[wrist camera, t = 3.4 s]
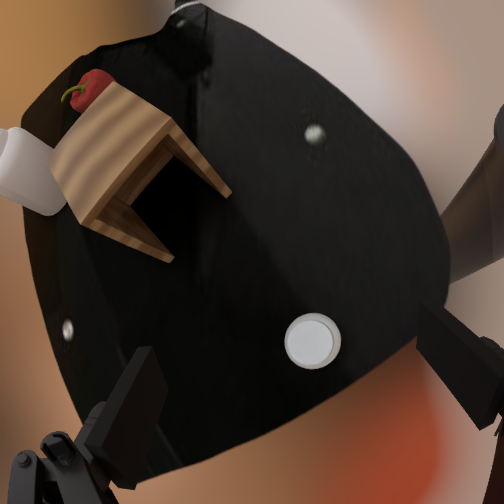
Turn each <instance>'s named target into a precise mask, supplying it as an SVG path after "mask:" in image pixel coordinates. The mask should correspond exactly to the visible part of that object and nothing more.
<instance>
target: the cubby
mask: <svg viewBox="0 0 504 504" xmlns="http://www.w3.org/2000/svg"><path fill="white" fill-rule="evenodd" d="M173 156H175V157H176V158H178V159H179V160H180V161H181V162H183V163H184V164H185V165H186V166H187V167H189V168H190V169H191V170H192V171H194V172H195V173H196V174H197V175H198V176H200V177H201V178H202V179H203V180H204V181H206V182H207V183H208V184H209V185H211V186H212V187H213V188H214V189H215V190H217V191H218V192H219V193H220V194H221V195H223V196H224V197H225V198H227V197H228V196H229V195H230V194H231V193H232V191H231V190H230V189H229V188H228V186H227V185H226V184H225V183H224V181H223V180H222V179H221V178H220V176H219V175H218V174H217V173H216V172H215V170H214V169H213V168H212V167H211V165H210V164H209V163H208V162H207V161H206V159H205V158H204V157H203V156H202V154H201V153H200V152H199V151H198V150H197V148H196V147H195V146H194V145H193V143H192V142H191V141H190V140H189V139H188V137H187V136H186V135H185V134H184V133H183V131H182V130H181V129H180V128H179V127H178V125H177V124H176V123H175V122H174V120H173V119H172V118H171V117H169V116H168V115H166V114H165V113H163V112H162V111H160V110H159V109H157V108H156V107H154V106H153V105H151V104H149V103H148V102H146V101H145V100H143V99H142V98H140V97H138V96H137V95H135V94H134V93H132V92H131V91H129V90H127V89H126V88H124V87H122V86H121V85H119V84H118V83H116V82H114V81H113V82H112V83H111V84H110V85H109V86H108V87H107V88H106V89H105V90H104V91H103V92H102V93H101V94H100V95H99V96H98V97H97V98H96V100H95V101H94V102H93V103H92V104H91V105H90V106H89V107H88V108H87V110H86V111H85V112H84V113H83V114H82V115H81V116H80V118H79V119H78V120H77V121H76V122H75V123H74V125H73V126H72V127H71V128H70V130H69V131H68V132H67V133H66V134H65V136H64V137H63V138H62V140H61V141H60V142H59V143H58V145H57V146H56V147H55V149H54V150H53V151H52V153H51V154H50V155H49V157H48V158H47V159H46V163H47V165H48V167H49V169H50V171H51V173H52V175H53V177H54V178H55V180H56V182H57V184H58V186H59V188H60V190H61V191H62V193H63V195H64V197H65V199H66V200H67V202H68V204H69V206H70V207H71V209H72V211H73V213H74V214H75V216H76V218H77V219H78V221H79V223H80V224H81V225H83V226H85V227H88V228H90V229H92V230H94V231H96V232H99V233H101V234H103V235H105V236H107V237H110V238H112V239H114V240H116V241H119V242H121V243H123V244H125V245H128V246H130V247H132V248H135V249H137V250H139V251H141V252H144V253H146V254H148V255H151V256H153V257H155V258H158V259H160V260H162V261H165V262H167V263H170V262H171V261H172V259H173V258H174V256H173V255H172V254H171V252H170V251H169V250H168V249H167V248H166V247H165V246H164V245H163V243H162V242H161V241H160V240H159V239H158V238H157V237H156V236H155V234H154V233H153V232H152V231H151V230H150V229H149V228H148V226H147V225H146V224H145V223H144V222H143V221H142V219H141V218H140V217H139V216H138V215H137V214H136V212H135V211H134V210H133V209H132V208H131V207H130V205H131V204H132V203H133V202H134V200H135V199H136V198H137V197H138V196H139V194H140V193H141V192H142V191H143V190H144V189H145V187H146V186H147V185H148V184H149V183H150V182H151V181H152V179H153V178H154V177H155V176H156V175H157V174H158V173H159V172H160V170H161V169H162V168H163V167H164V166H165V165H166V164H167V163H168V162H169V161H170V159H171V158H172V157H173Z"/></svg>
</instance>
